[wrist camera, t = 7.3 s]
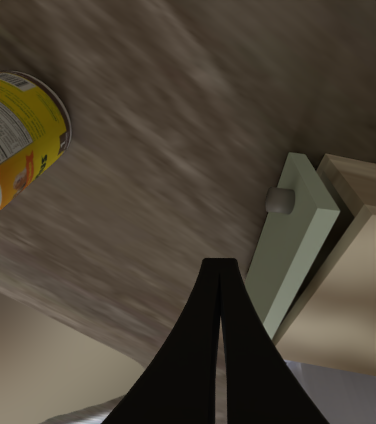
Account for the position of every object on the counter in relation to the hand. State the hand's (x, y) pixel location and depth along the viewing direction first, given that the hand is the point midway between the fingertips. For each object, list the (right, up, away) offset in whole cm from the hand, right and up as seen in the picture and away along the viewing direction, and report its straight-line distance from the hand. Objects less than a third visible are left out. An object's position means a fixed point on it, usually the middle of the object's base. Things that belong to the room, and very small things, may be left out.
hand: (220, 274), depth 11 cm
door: (+4, +1, +9) cm, 10 cm away
